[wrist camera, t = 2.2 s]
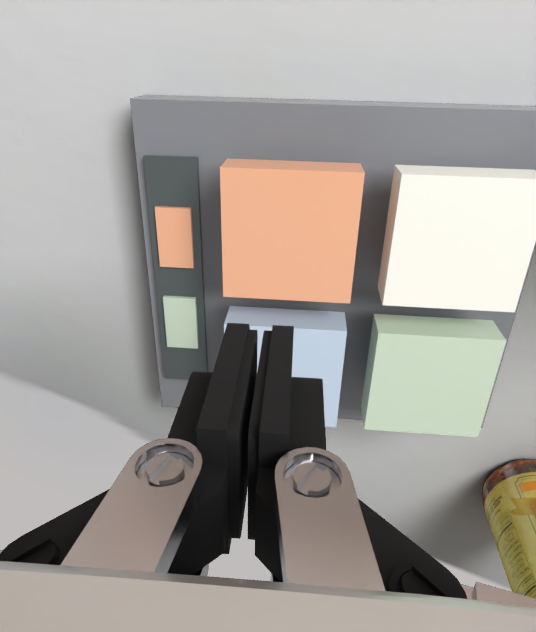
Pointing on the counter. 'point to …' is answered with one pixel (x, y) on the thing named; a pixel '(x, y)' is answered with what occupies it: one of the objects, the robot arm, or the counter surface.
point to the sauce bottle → (514, 521)
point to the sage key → (430, 374)
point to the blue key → (305, 345)
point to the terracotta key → (290, 229)
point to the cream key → (458, 237)
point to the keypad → (292, 145)
